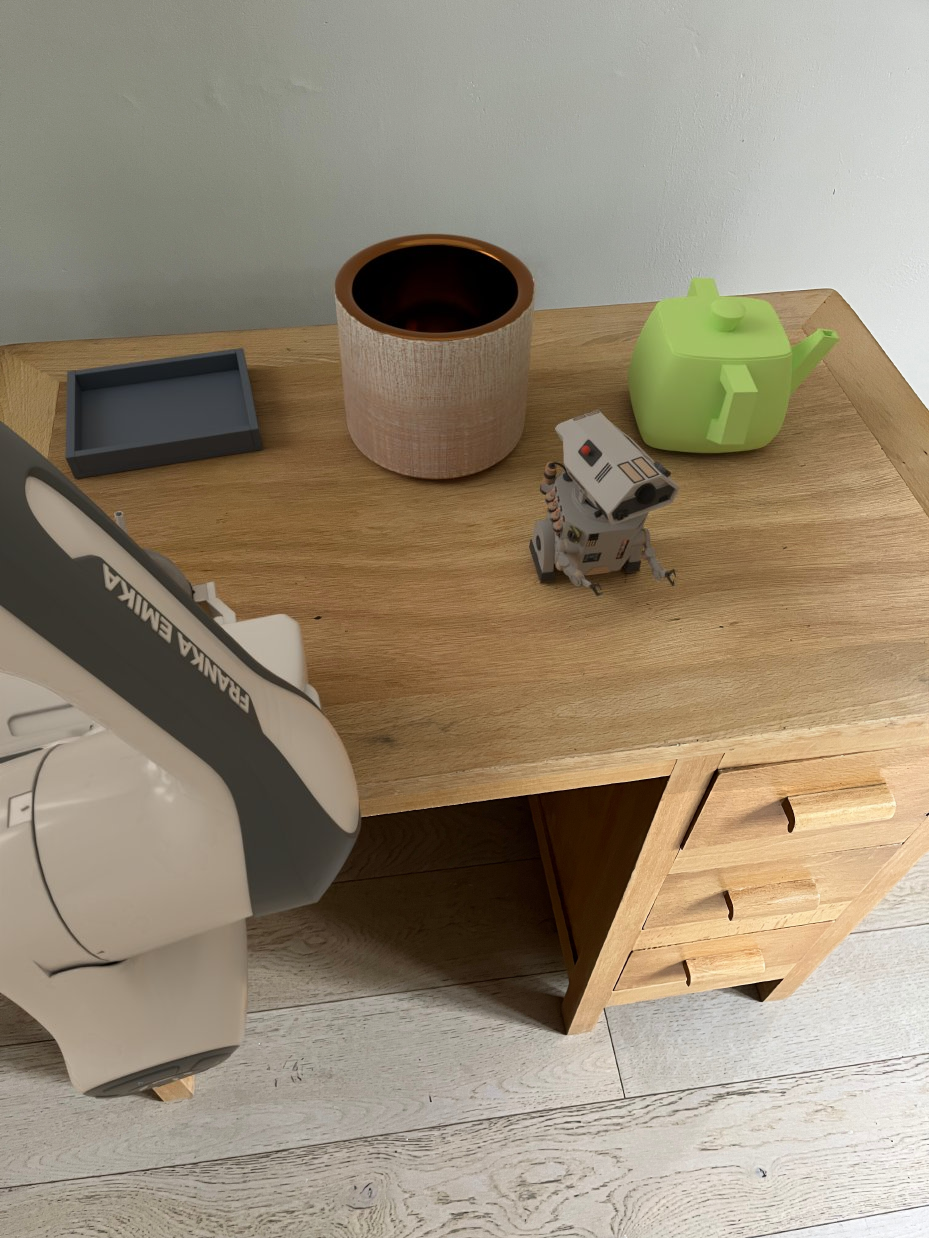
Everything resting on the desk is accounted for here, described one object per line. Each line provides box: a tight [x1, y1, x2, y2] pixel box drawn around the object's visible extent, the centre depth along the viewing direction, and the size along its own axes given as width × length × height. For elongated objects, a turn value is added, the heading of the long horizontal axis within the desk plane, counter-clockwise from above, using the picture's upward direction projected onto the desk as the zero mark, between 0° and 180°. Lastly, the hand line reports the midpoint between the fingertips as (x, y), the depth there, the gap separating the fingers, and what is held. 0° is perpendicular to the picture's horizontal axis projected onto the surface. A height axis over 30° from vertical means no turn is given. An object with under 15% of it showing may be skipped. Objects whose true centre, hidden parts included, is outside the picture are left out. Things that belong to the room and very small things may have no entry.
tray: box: [65, 347, 264, 480], centre depth 85 cm, size 18×14×3 cm
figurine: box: [528, 409, 681, 597], centre depth 68 cm, size 9×12×15 cm
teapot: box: [627, 277, 840, 454], centre depth 83 cm, size 18×20×13 cm
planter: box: [333, 233, 536, 480], centre depth 80 cm, size 18×18×16 cm
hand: (139, 601), depth 57 cm, fingers closed on beverage cup, 7 cm apart
